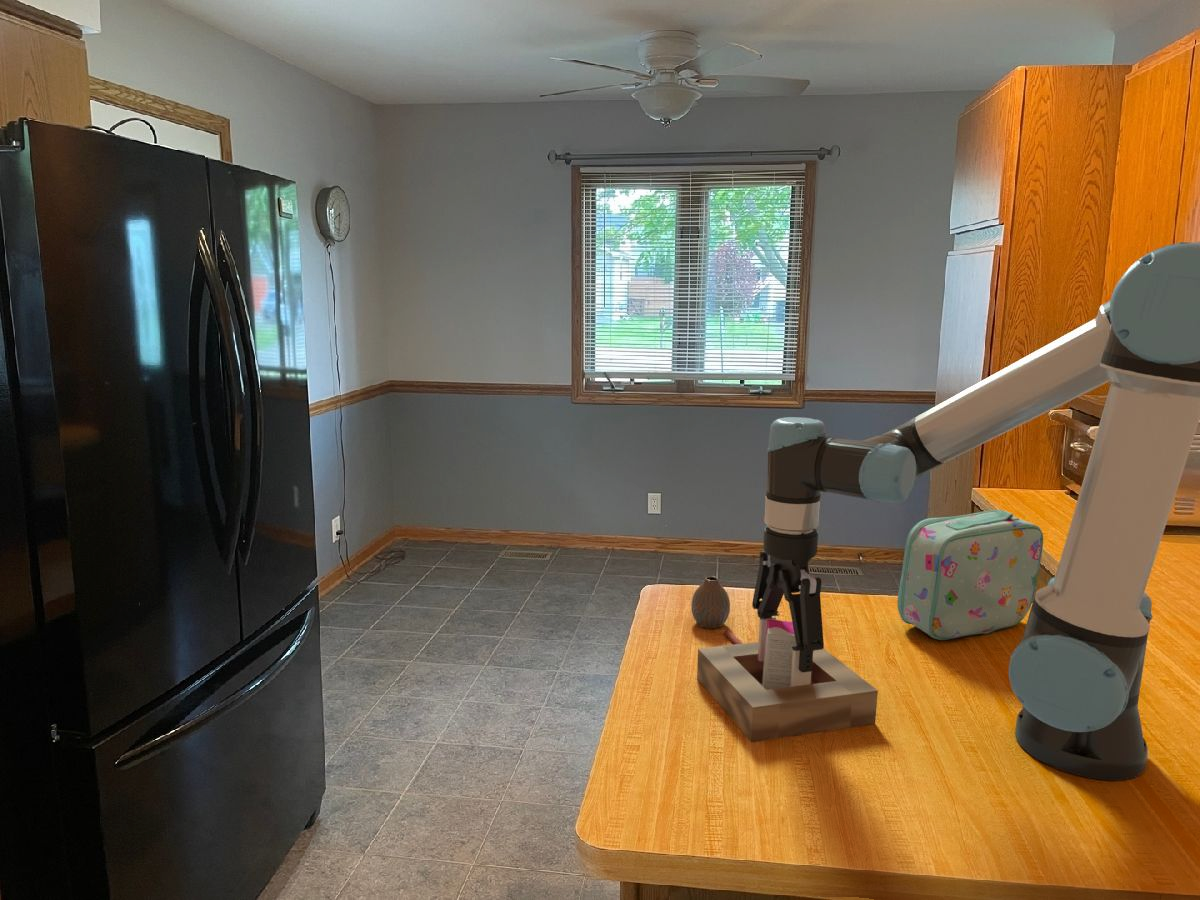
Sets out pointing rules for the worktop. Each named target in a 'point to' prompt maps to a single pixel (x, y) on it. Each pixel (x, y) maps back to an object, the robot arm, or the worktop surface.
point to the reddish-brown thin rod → (732, 637)
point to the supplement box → (778, 654)
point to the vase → (710, 604)
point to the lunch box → (969, 573)
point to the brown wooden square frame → (785, 694)
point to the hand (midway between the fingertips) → (782, 674)
